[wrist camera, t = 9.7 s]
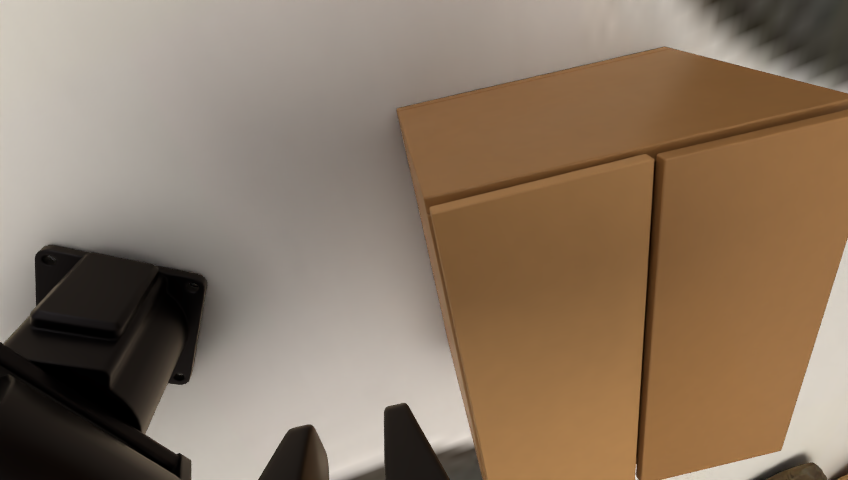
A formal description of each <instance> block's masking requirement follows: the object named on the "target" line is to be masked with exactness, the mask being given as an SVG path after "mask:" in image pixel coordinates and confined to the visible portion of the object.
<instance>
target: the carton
mask: <svg viewBox="0 0 848 480" xmlns="http://www.w3.org/2000/svg"><path fill="white" fill-rule="evenodd" d="M397 115H398V119H399V124H400V128H401V132H402V137H403V141H404V146H405V150H406V155H407V159H408V164H409V168H410V173H411V177H412V182H413V186H414V191H415V195H416V200H417V204H418V209H419V213H420V217H421V222H422V226H423V231H424V235H425V240H426V244H427V249H428V253H429V258H430V262H431V267H432V271H433V276H434V280H435V285H436V289H437V294H438V298H439V303H440V307H441V311H442V316H443V320H444V325H445V329H446V334H447V338H448V343H449V347H450V351H451V355H452V359H453V363H454V367H455V371H456V375H457V379H458V383H459V387H460V391H461V395H462V399H463V403H464V407H465V411H466V415H467V418H468V422H469V426H470V430H471V434H472V438H473V442H474V446H475V450H476V454H477V458H478V462H479V466H480V470H481V474H482V478H483V480H486V476H485V471H484V467H483V462H482V457H481V452H480V448H479V443H478V438H477V433H476V429H475V424H474V419H473V414H472V410H471V405H470V400H469V395H468V391H467V386H466V381H465V376H464V371H463V367H462V362H461V357H460V352H459V348H458V343H457V338H456V333H455V329H454V324H453V319H452V314H451V310H450V305H449V300H448V295H447V291H446V286H445V281H444V276H443V272H442V267H441V262H440V257H439V253H438V248H437V243H436V238H435V234H434V229H433V224H432V219H431V215H430V210H429V208H430V207H431V206H435V205H440V204H444V203H448V202H452V201H456V200H460V199H464V198H468V197H472V196H476V195H480V194H484V193H488V192H492V191H496V190H500V189H505V188H509V187H513V186H517V185H521V184H525V183H529V182H533V181H537V180H541V179H545V178H549V177H553V176H557V175H561V174H565V173H570V172H574V171H578V170H582V169H586V168H590V167H594V166H598V165H602V164H606V163H610V162H614V161H618V160H622V159H626V158H630V157H635V156H639V155H643V154H647V155H649V156H650V157H652V158H654V175H653V191H652V207H651V224H650V240H649V256H648V273H647V289H646V305H645V321H644V338H643V354H642V370H641V387H640V403H639V419H638V436H637V452H636V464H637V471H636V476H637V478H638V479H639V480H662V479H666V478H670V477H674V476H678V475H682V474H686V473H691V472H695V471H699V470H703V469H707V468H711V467H715V466H719V465H723V464H728V463H732V462H736V461H740V460H744V459H748V458H752V457H756V456H761V455H765V454H769V453H773V452H777V451H781V449H782V446H783V443H784V440H785V437H786V433H787V430H788V427H789V424H790V421H791V417H792V414H793V411H794V408H795V405H796V401H797V398H798V395H799V392H800V389H801V385H802V382H803V379H804V376H805V373H806V369H807V366H808V363H809V360H810V357H811V353H812V350H813V347H814V344H815V341H816V337H817V334H818V331H819V328H820V325H821V321H822V318H823V315H824V312H825V309H826V305H827V302H828V299H829V296H830V293H831V289H832V286H833V283H834V280H835V277H836V273H837V270H838V267H839V264H840V261H841V257H842V254H843V251H844V248H845V245H846V241H847V238H848V94H847V93H843V92H840V91H836V90H832V89H828V88H824V87H820V86H816V85H812V84H808V83H804V82H801V81H797V80H793V79H789V78H785V77H781V76H777V75H773V74H769V73H766V72H762V71H758V70H754V69H750V68H746V67H742V66H738V65H734V64H730V63H727V62H723V61H719V60H715V59H711V58H707V57H703V56H699V55H695V54H692V53H688V52H684V51H680V50H676V49H672V48H668V47H661V48H657V49H653V50H648V51H644V52H640V53H635V54H631V55H627V56H622V57H618V58H614V59H609V60H605V61H601V62H596V63H592V64H588V65H583V66H579V67H574V68H570V69H566V70H561V71H557V72H553V73H548V74H544V75H540V76H535V77H531V78H527V79H522V80H518V81H514V82H509V83H505V84H501V85H496V86H492V87H487V88H483V89H479V90H474V91H470V92H466V93H461V94H457V95H453V96H448V97H444V98H440V99H435V100H431V101H427V102H422V103H418V104H413V105H409V106H405V107H400V108H397Z"/></svg>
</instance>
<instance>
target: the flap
mask: <svg viewBox="0 0 848 480" xmlns="http://www.w3.org/2000/svg"><path fill="white" fill-rule="evenodd" d="M653 175H654V158H652V157H650V156H649V155H647V154H643V155H639V156H635V157H630V158H626V159H622V160H618V161H614V162H610V163H606V164H602V165H598V166H594V167H590V168H586V169H582V170H578V171H574V172H570V173H565V174H561V175H557V176H553V177H549V178H545V179H541V180H537V181H533V182H529V183H525V184H521V185H517V186H513V187H509V188H505V189H500V190H496V191H492V192H488V193H484V194H480V195H476V196H472V197H468V198H464V199H460V200H456V201H452V202H448V203H444V204H440V205H435V206H431V207H430V208H429V210H430V215H431V219H432V224H433V229H434V234H435V238H436V243H437V248H438V253H439V257H440V262H441V267H442V272H443V276H444V281H445V286H446V291H447V295H448V300H449V305H450V310H451V314H452V319H453V324H454V329H455V333H456V338H457V343H458V348H459V352H460V357H461V362H462V367H463V371H464V376H465V381H466V386H467V391H468V395H469V400H470V405H471V410H472V414H473V419H474V424H475V429H476V433H477V438H478V443H479V448H480V452H481V457H482V462H483V467H484V471H485V476H486V480H635V468H636V452H637V436H638V419H639V403H640V387H641V370H642V354H643V338H644V321H645V305H646V289H647V273H648V256H649V240H650V224H651V207H652V191H653Z"/></svg>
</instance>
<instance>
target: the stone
mask: <svg viewBox="0 0 848 480" xmlns="http://www.w3.org/2000/svg"><path fill="white" fill-rule="evenodd" d="M765 480H827V477H826V476H825V475H824V474H823V471H822V470H821V469H820V468H819V466H817V465H816V464H815V463H806V464H802V465H799V466H796V467H793V468H790V469H788V470H785V471H782V472H780V473H778V474H776V475H774V476H772V477H770V478H767V479H765Z"/></svg>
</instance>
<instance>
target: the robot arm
mask: <svg viewBox="0 0 848 480" xmlns="http://www.w3.org/2000/svg"><path fill="white" fill-rule="evenodd" d="M48 255H50V256H52V257H54V258H55V259H56V261H54V260H52V259H50V258H49V257H48ZM35 278H36V307H35V308H34V309H33V311H32V312H31V314H30V316H29V317H28V318H27V319H26V320H25V321H24V322H23V323H22V324H21V325H20V326H19V328H18V329H17V330H16V331H15V332H14V333H13V334H12V335H11V336H10V337H9V338H8V339H7V340H6V342H5V343H4V344H2V343H1V342H0V480H191V460H190V459H188V458H187V457H185V456H184V455H182V454H180V453H179V454H175V453H174V452H172V451H170V450H169V449H167V448H166V447H164V446H162V445H161V444H159V443H158V442H156V441H155V440H153V439H151V438H150V437H148V436H147V435H145V433H146V431H147V429H148V426H149V424H150V422H151V420H152V417H153V415H154V413H155V411H156V408H157V406H158V404H159V402H160V399H161V397H162V395H163V393H164V390H165V388H166V386H167V384H168V383H170V384H178V385H182V384H186V383H187V382H189V380H190V377H191V375H192V372H193V366H194V360H195V354H196V348H197V342H198V336H199V330H200V324H201V318H202V312H203V307H204V301H205V295H206V289H207V281H206V279H205V278H204V277H203V276H202V275H199V274H196V273H191V272H186V271H181V270H176V269H171V268H166V267H161V266H156V265H153V264H149V263H144V262H139V261H134V260H129V259H124V258H119V257H114V256H109V255H104V254H99V253H94V252H85V251H80V250H75V249H70V248H65V247H60V246H55V245H48V246H44V247H43V248H42V249H41V250H40V251H39V252H38V253H37V254H36V256H35ZM189 283H194V284H197V285H198V287H193V286H191V285H190V284H189ZM179 373H180V374H182V375H179ZM384 463H385V478H386V480H450V479H449V477H448V476H447V474H446V472H445V470H444V468H443V467H442V465H441V463H440V461H439V460H438V458H437V456H436V454H435V452H434V451H433V449H432V447H431V445H430V444H429V442H428V440H427V438H426V437H425V435H424V433H423V431H422V429H421V428H420V426H419V424H418V422H417V421H416V419H415V417H414V415H413V413H412V412H411V410H410V408H409V406H408V405H407V404H406V403H401V404H397V405H392V406H388V407H386V408H385V410H384ZM258 480H329V467H328V458H327V454H326V451H325V449H324V447H323V444H322V442H321V440H320V438H319V436H318V434H317V432H316V430H315V428H314V427H313V426H312V425H304V426H299V427H295V428H292V429H290V430H289V431H288V432H287V433H286V434H285V436H284V438H283V439H282V441H281V443H280V444H279V446H278V448H277V449H276V451H275V453H274V454H273V456H272V458H271V459H270V461H269V463H268V464H267V466H266V468H265V469H264V471H263V473H262V474H261V476H260V478H259V479H258Z"/></svg>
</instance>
